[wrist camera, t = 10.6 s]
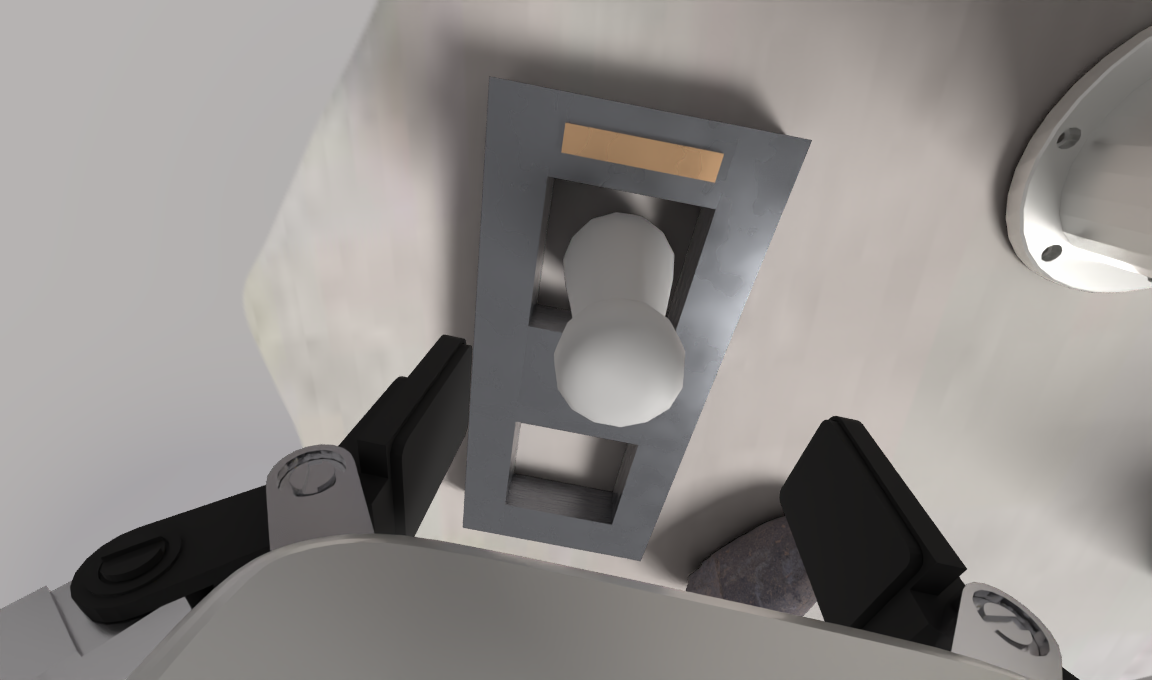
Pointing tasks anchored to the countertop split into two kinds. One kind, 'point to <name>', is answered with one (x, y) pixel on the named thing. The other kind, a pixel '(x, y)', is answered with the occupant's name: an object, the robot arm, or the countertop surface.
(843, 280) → the countertop surface
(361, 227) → the countertop surface
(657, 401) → the salt shaker
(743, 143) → the socket panel
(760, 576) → the perforated stone tool
